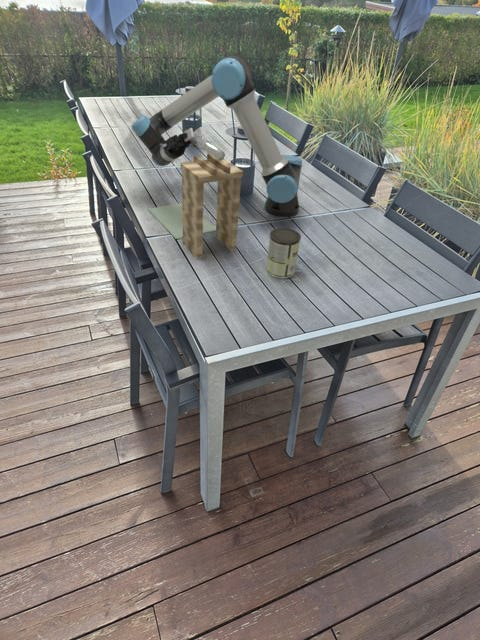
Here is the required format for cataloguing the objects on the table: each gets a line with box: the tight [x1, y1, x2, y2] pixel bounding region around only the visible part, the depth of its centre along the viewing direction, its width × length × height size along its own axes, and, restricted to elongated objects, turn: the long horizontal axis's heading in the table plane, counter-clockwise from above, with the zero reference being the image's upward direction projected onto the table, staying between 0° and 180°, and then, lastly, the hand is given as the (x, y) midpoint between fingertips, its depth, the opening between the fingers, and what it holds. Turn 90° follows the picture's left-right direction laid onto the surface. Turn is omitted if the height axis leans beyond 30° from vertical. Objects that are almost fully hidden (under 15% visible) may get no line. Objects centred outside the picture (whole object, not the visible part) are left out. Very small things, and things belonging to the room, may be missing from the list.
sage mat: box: [148, 202, 216, 240], centre depth 179 cm, size 28×18×1 cm, turn 31°
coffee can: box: [265, 227, 302, 279], centre depth 150 cm, size 10×10×14 cm
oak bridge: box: [180, 153, 244, 260], centre depth 153 cm, size 14×16×32 cm
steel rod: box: [183, 129, 226, 161], centre depth 145 cm, size 24×3×3 cm, turn 31°
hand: (196, 131), depth 146 cm, fingers closed on steel rod, 3 cm apart
